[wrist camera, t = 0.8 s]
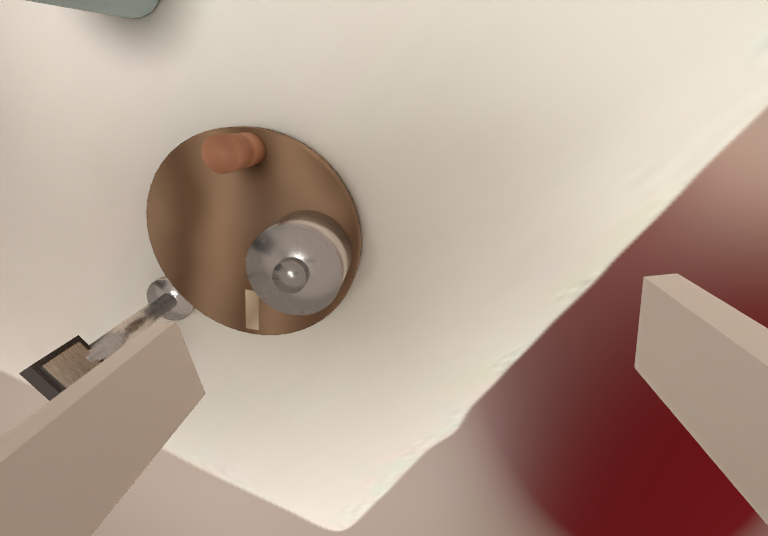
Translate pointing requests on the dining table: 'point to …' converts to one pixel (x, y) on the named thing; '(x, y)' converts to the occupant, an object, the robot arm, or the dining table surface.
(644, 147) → the dining table surface
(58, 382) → the indicator post
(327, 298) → the cover
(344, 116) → the dining table surface
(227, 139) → the turntable
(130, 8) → the cup
